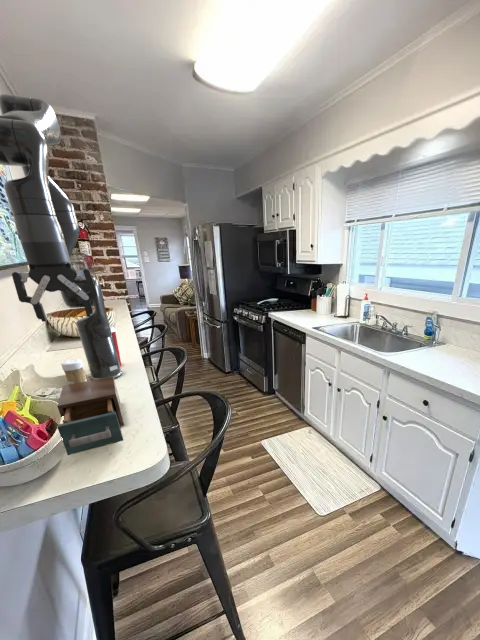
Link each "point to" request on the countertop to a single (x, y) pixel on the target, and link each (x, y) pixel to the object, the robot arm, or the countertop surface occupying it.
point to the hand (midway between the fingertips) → (67, 318)
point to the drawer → (90, 426)
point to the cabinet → (90, 395)
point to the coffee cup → (115, 342)
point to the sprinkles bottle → (74, 371)
